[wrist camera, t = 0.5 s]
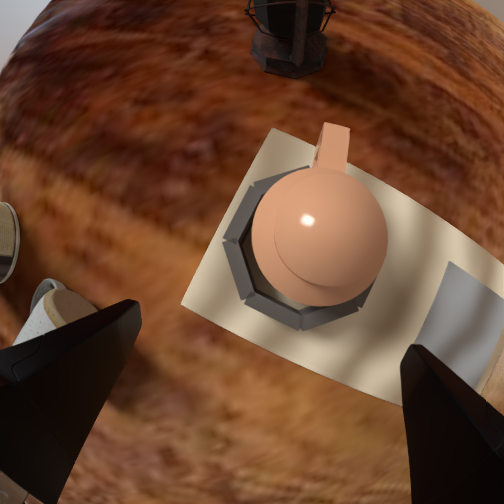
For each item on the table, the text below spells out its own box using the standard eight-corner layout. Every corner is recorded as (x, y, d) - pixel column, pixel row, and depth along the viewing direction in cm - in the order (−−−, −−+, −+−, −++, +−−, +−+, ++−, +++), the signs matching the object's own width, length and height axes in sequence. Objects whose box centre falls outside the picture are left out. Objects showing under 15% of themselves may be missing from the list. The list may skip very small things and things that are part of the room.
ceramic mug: (128, 335, 24) (78, 354, 16) (90, 388, 24) (43, 413, 16) (62, 259, 25) (8, 253, 18) (32, 314, 25) (-18, 320, 18)
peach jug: (334, 299, 22) (389, 323, 11) (252, 282, 22) (232, 294, 11) (355, 182, 22) (412, 117, 11) (276, 165, 23) (278, 83, 12)
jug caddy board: (185, 302, 24) (167, 308, 19) (272, 135, 24) (271, 109, 20) (454, 419, 21) (475, 437, 17) (515, 282, 22) (542, 283, 17)
